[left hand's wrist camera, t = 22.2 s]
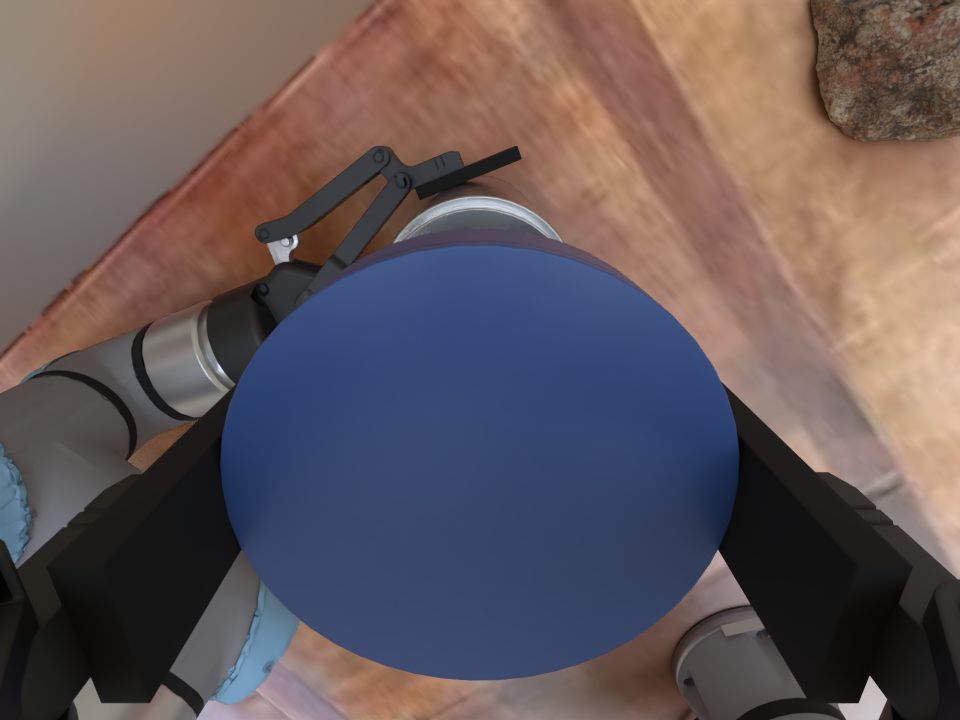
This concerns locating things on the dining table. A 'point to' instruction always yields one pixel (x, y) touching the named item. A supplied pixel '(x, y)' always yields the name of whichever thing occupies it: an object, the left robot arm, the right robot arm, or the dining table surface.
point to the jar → (478, 211)
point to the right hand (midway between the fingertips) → (543, 230)
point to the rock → (890, 67)
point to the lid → (479, 457)
